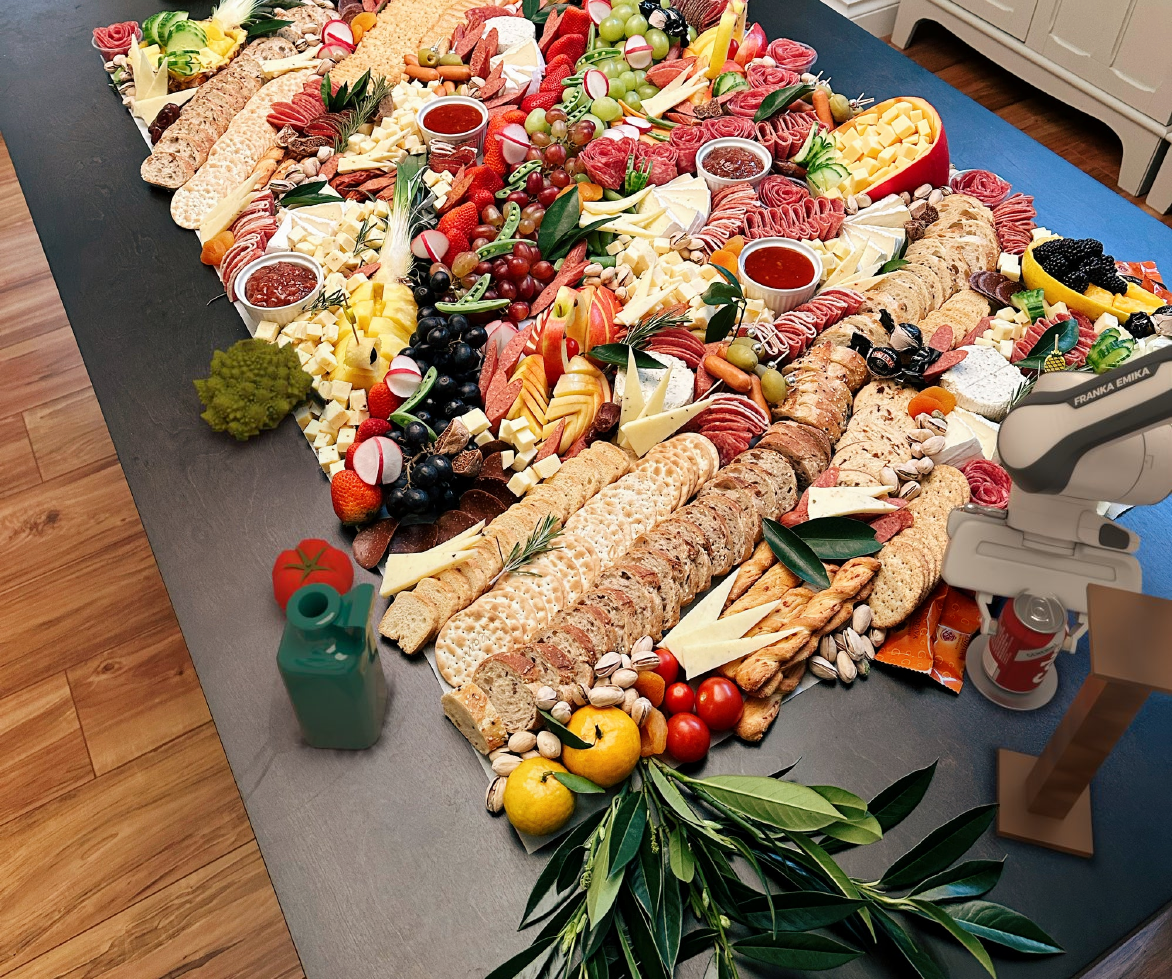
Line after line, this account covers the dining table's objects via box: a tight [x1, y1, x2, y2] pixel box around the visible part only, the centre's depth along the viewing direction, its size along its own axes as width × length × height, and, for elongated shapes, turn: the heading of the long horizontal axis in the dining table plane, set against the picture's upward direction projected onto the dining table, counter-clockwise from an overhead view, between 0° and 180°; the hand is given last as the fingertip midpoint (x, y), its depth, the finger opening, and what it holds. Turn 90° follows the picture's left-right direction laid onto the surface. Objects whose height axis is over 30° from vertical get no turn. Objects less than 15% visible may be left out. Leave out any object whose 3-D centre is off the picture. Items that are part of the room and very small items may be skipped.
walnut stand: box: [996, 583, 1172, 859], centre depth 105 cm, size 9×9×32 cm
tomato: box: [271, 537, 355, 614], centre depth 132 cm, size 9×9×8 cm
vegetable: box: [192, 337, 328, 442], centre depth 153 cm, size 15×16×15 cm
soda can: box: [982, 588, 1070, 693], centre depth 122 cm, size 7×7×12 cm
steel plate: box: [964, 633, 1059, 712], centre depth 127 cm, size 10×10×1 cm
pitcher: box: [275, 582, 389, 750], centre depth 116 cm, size 10×8×22 cm
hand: (1027, 643), depth 121 cm, fingers closed on soda can, 7 cm apart
